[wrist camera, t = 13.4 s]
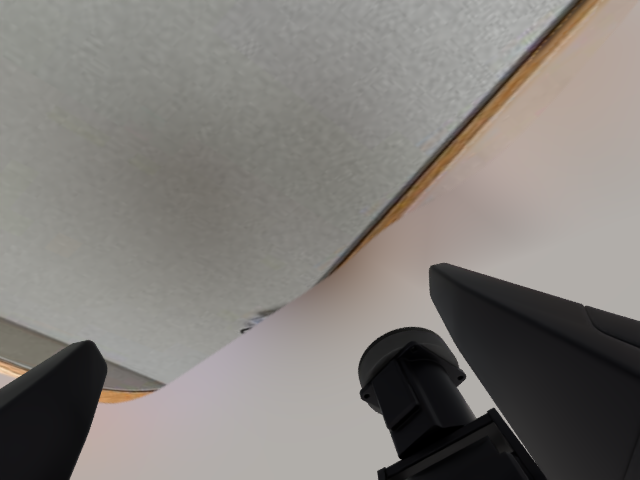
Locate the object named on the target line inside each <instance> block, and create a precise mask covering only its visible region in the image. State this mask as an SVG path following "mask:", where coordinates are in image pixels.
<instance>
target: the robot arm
mask: <svg viewBox="0 0 640 480" xmlns="http://www.w3.org/2000/svg"><path fill="white" fill-rule="evenodd" d="M429 286H430V296H431V299H432V301H433V303H434V305H435V306H436V309H437V311H438V313H439V314H440V316H441V318H442V320H443V322H444V324H445V326H446V328H447V330H448V331H449V333H450V335H451V337H452V339H453V341H454V343H455V344H456V346H457V348H458V349H459V351H460V352H461V354H462V355H463V357H464V358H465V360H466V361H467V363H468V364H469V366H470V367H471V369H472V370H473V372H474V373H475V374H476V376H477V377H478V379H479V380H480V382H481V383H482V385H483V386H484V387H485V389H486V391H487V392H488V393H489V395H490V396H491V398H492V399H493V401H494V402H495V404H496V405H497V407H498V408H499V410H500V411H501V412H502V414H503V415H504V417H505V418H506V420H507V421H508V423H509V424H510V426H511V427H512V429H513V430H514V432H515V433H516V434H517V436H518V437H519V439H520V440H521V442H522V443H523V445H524V446H525V448H526V449H527V450H528V452H529V453H530V455H531V456H532V457H531V456H530V455H529V454H528V452H527V451H526V449H525V448H524V447H523V445H522V444H521V443H520V441H519V440H518V439H517V437H516V436H515V435H514V433H513V432H512V431H511V429H510V428H509V427H508V426H507V424H506V423H505V421H504V420H503V419H502V417H501V416H500V415H499V413H498V412H497V411H496V409H495V408H492V409H490V410H488V411H487V413H486V414H485V415H483V416H481V417H479V418H476V417H475V415H474V414H473V412H472V411H471V409H470V407H469V406H468V404H467V403H466V401H465V400H464V398H463V396H462V395H461V393H460V392H459V390H458V389H457V386H458V385H460V384H461V383H462V382H463V381H464V380H465V379H466V374H465V373H464V372H463V370H461V369H460V368H458V367H456V366H455V365H453V364H452V363H450V362H448V361H447V360H445V359H444V358H442V357H441V356H439V355H437V354H436V353H434V352H433V351H431V350H429V349H428V348H426V347H425V346H423V345H421V344H420V343H418V342H417V341H410V342H409V343H407V344H406V345H405V346H404V347H403V348H402V349H401V350H400V351H399V352H398V353H397V354H396V355H395V356H394V357H393V358H392V359H391V360H390V361H389V362H388V363H387V364H386V365H385V366H384V367H383V368H382V369H381V370H380V371H379V372H378V373H377V374H376V375H375V376H374V377H373V378H372V379H371V380H370V381H369V382H368V383H367V384H366V385H365V386H364V387H363V388H362V389H361V391H360V396H361V399H362V400H364V401H366V402H368V403H370V404H372V405H374V406H376V407H378V408H380V409H381V412H382V415H383V417H384V420H385V423H386V426H387V428H388V429H389V431H390V433H391V437H392V439H393V442H394V445H395V448H396V451H397V453H398V457H399V458H400V459H402V460H400V461H398V462H396V463H395V464H393V465H391V466H389V467H387V468H385V467H384V468H382V469H380V470H378V471H377V473H378V480H640V321H637V320H634V319H630V318H627V317H623V316H620V315H616V314H613V313H610V312H606V311H603V310H600V309H596V308H593V307H590V306H585V307H584V306H583V305H582V304H580V303H576V302H573V301H569V300H566V299H563V298H560V297H557V296H553V295H550V294H546V293H543V292H540V291H537V290H533V289H530V288H527V287H523V286H520V285H517V284H513V283H510V282H507V281H504V280H499V279H497V278H494V277H490V276H487V275H484V274H480V273H477V272H474V271H470V270H467V269H464V268H461V267H457V266H454V265H451V264H448V263H440V264H436V265H432V266H431V267H430V268H429ZM413 347H414V348H413ZM106 375H107V364H106V362H105V360H104V358H103V356H102V355H101V353H100V351H99V350H98V348H97V346H96V344H95V343H94V342H93V341H90V340H86V341H81V342H77V343H73V344H71V345H69V346H68V347H66V348H64V349H63V350H61V351H60V352H58V353H57V354H55V355H53V356H52V357H50V358H49V359H47V360H45V361H44V362H42V363H41V364H39V365H37V366H36V367H34V368H33V369H31V370H30V371H28V372H26V373H25V374H23V375H22V376H20V377H18V378H17V379H15V380H14V381H12V382H10V383H9V384H7V385H6V386H4V387H3V388H1V389H0V480H70V477H71V475H72V472H73V470H74V467H75V465H76V463H77V460H78V458H79V455H80V453H81V450H82V448H83V445H84V443H85V441H86V438H87V435H88V433H89V430H90V427H91V424H92V421H93V418H94V414H95V411H96V408H97V404H98V401H99V398H100V395H101V391H102V388H103V385H104V381H105V378H106ZM532 458H533V459H534V460H533V459H532ZM534 461H535V462H536V463H535V462H534ZM537 465H538V466H537Z"/></svg>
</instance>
